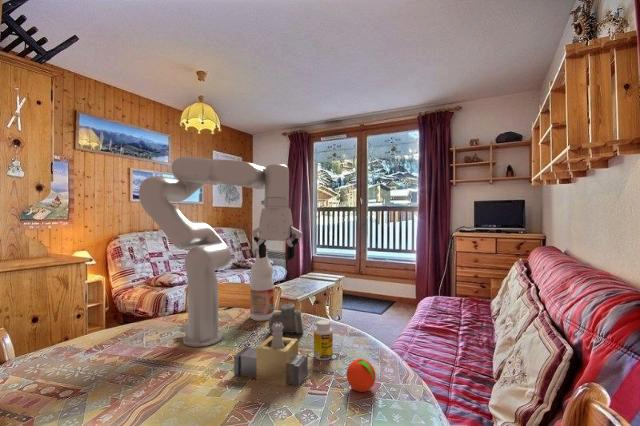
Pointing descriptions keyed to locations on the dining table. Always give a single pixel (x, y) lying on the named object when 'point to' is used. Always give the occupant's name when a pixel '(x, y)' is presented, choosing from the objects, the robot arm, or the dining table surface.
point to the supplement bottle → (323, 340)
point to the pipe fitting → (288, 319)
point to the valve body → (273, 363)
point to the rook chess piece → (277, 336)
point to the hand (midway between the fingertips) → (276, 258)
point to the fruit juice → (261, 289)
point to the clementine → (361, 375)
